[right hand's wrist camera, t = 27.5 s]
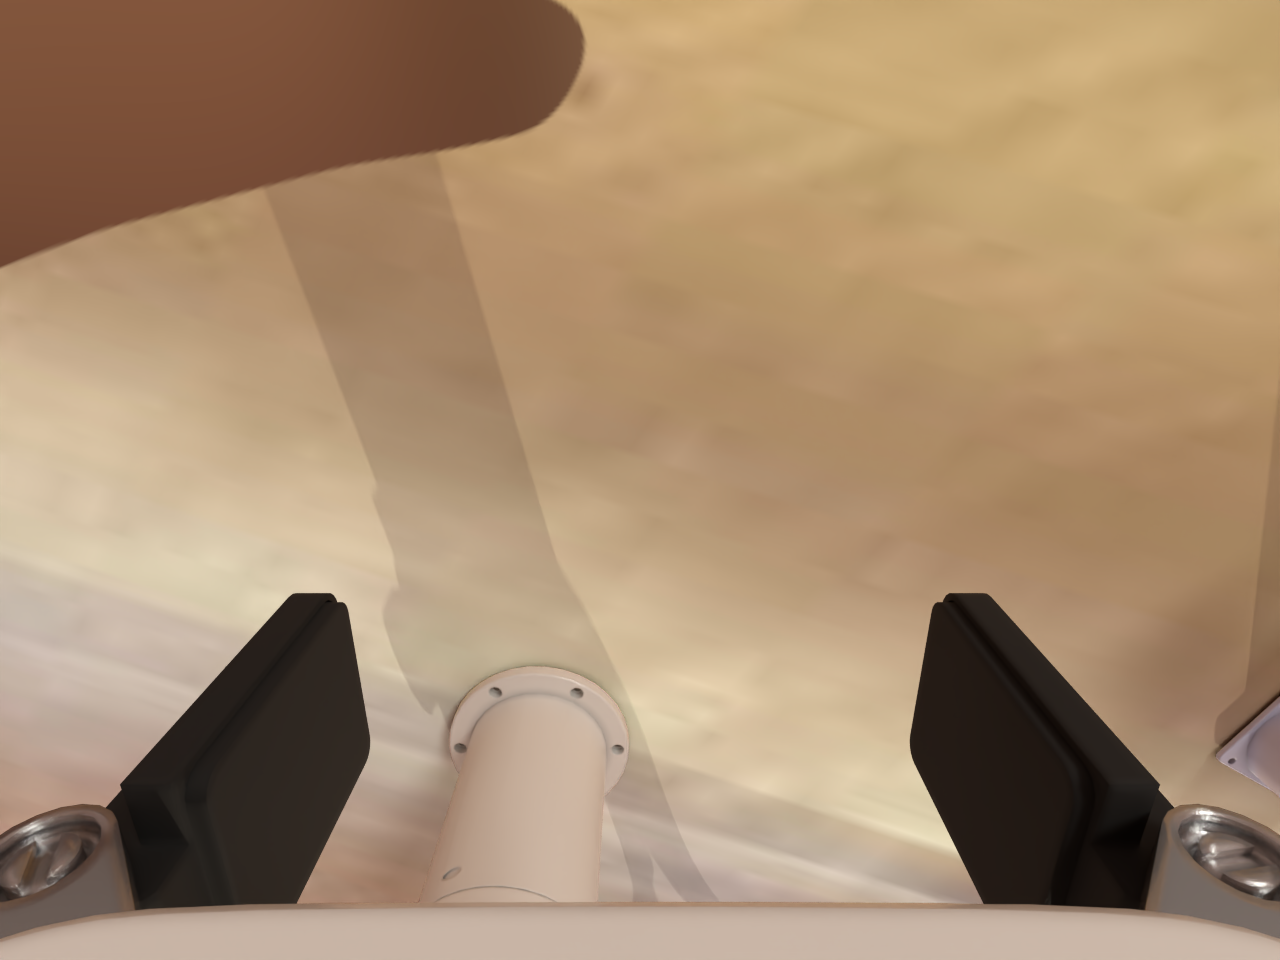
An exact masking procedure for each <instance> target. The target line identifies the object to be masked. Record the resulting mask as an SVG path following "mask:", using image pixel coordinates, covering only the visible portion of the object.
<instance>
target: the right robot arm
mask: <svg viewBox="0 0 1280 960" xmlns="http://www.w3.org/2000/svg"><path fill="white" fill-rule="evenodd" d="M449 747H450V753H451V758H452V760H453V763H454V765H455V768H456V770H457V772H458V773H459V777H458V780H457V783H456V786H455V789H454V792H453V795H452V798H451V802H450V805H449V808H448V811H447V814H446V817H445V820H444V824H443V827H442V830H441V833H440V836H439V839H438V842H437V846H436V849H435V852H434V855H433V858H432V861H431V864H430V868H429V871H428V874H427V877H426V880H425V883H424V886H423V889H422V893H421V896H420V899H419V902H418V903H318V904H296V903H297V901H298V899H299V897H300V895H301V893H302V891H303V889H304V887H305V885H306V883H307V881H308V879H309V877H310V875H311V873H312V871H313V869H314V867H315V865H316V863H317V861H318V859H319V857H320V855H321V853H322V851H323V849H324V847H325V845H326V843H327V841H328V839H329V837H330V835H331V832H332V830H333V828H334V826H335V824H336V822H337V820H338V818H339V816H340V814H341V812H342V810H343V808H344V806H345V804H346V802H347V800H348V798H349V796H350V794H351V792H352V790H353V788H354V786H355V784H356V782H357V780H358V778H359V776H360V774H361V772H362V770H363V768H364V766H365V764H366V761H367V759H368V755H369V749H370V734H369V729H368V723H367V717H366V711H365V705H364V700H363V694H362V688H361V682H360V677H359V671H358V665H357V659H356V653H355V648H354V642H353V636H352V630H351V624H350V619H349V613H348V609H347V606H346V605H345V603H343V602H337V600H336V598H335V597H334V595H332V594H331V593H295V594H292V595H291V596H290V597H288V599H287V600H286V601H285V602H284V603H283V604H282V605H281V606H280V607H279V609H278V610H277V611H276V612H275V613H274V614H273V615H272V616H271V617H270V619H269V620H268V621H267V622H266V623H265V624H264V625H263V626H262V627H261V629H260V630H259V631H258V632H257V633H256V634H255V635H254V636H253V637H252V639H251V640H250V641H249V642H248V643H247V644H246V645H245V646H244V647H243V649H242V650H241V651H240V652H239V653H238V654H237V655H236V656H235V657H234V659H233V660H232V661H231V662H230V663H229V664H228V665H227V666H226V667H225V669H224V670H223V671H222V672H221V673H220V674H219V675H218V676H217V677H216V679H215V680H214V681H213V682H212V683H211V684H210V685H209V686H208V687H207V689H206V690H205V691H204V692H203V693H202V694H201V695H200V696H199V697H198V699H197V700H196V701H195V702H194V703H193V704H192V705H191V706H190V707H189V709H188V710H187V711H186V712H185V713H184V714H183V715H182V716H181V717H180V719H179V720H178V721H177V722H176V723H175V724H174V725H173V726H172V727H171V729H170V730H169V731H168V732H167V733H166V734H165V735H164V736H163V737H162V739H161V740H160V741H159V742H158V743H157V744H156V745H155V746H154V747H153V749H152V750H151V751H150V752H149V753H148V754H147V755H146V756H145V757H144V759H143V760H142V761H141V762H140V763H139V764H138V765H137V766H136V767H135V769H134V770H133V771H132V772H131V773H130V774H129V775H128V776H127V777H126V779H125V780H124V781H123V782H122V783H121V784H120V786H121V789H122V790H121V791H120V792H119V793H118V795H117V796H116V797H115V798H114V799H113V800H112V801H111V802H110V804H109V805H108V806H107V807H106V808H104V807H102V806H100V805H88V804H80V805H73V806H67V807H61V808H58V809H55V810H52V811H49V812H45V813H42V814H39V815H37V816H34V817H32V818H30V819H28V820H26V821H24V822H22V823H20V824H18V825H16V826H14V827H12V828H10V829H9V830H7V831H6V832H4V833H3V834H1V835H0V960H1280V835H1279V834H1277V833H1276V832H1274V831H1273V830H1271V829H1270V828H1268V827H1266V826H1264V825H1262V824H1260V823H1258V822H1256V821H1254V820H1252V819H1250V818H1248V817H1246V816H1243V815H1241V814H1238V813H1235V812H1231V811H1228V810H1225V809H1222V808H1219V807H1213V806H1207V805H1200V804H1192V805H1180V806H1178V807H1176V808H1174V807H1173V806H1172V805H1171V804H1170V802H1169V801H1168V800H1167V799H1166V798H1165V797H1164V796H1163V795H1162V793H1161V792H1160V791H1159V790H1158V789H1159V786H1160V784H1159V783H1158V782H1157V781H1156V780H1155V779H1154V777H1153V776H1152V775H1151V774H1150V773H1149V772H1148V771H1147V770H1146V769H1145V767H1144V766H1143V765H1142V764H1141V763H1140V762H1139V761H1138V760H1137V759H1136V757H1135V756H1134V755H1133V754H1132V753H1131V752H1130V751H1129V750H1128V749H1127V747H1126V746H1125V745H1124V744H1123V743H1122V742H1121V741H1120V740H1119V739H1118V737H1117V736H1116V735H1115V734H1114V733H1113V732H1112V731H1111V730H1110V729H1109V727H1108V726H1107V725H1106V724H1105V723H1104V722H1103V721H1102V720H1101V719H1100V717H1099V716H1098V715H1097V714H1096V713H1095V712H1094V711H1093V710H1092V709H1091V707H1090V706H1089V705H1088V704H1087V703H1086V702H1085V701H1084V700H1083V699H1082V697H1081V696H1080V695H1079V694H1078V693H1077V692H1076V691H1075V690H1074V689H1073V687H1072V686H1071V685H1070V684H1069V683H1068V682H1067V681H1066V680H1065V679H1064V677H1063V676H1062V675H1061V674H1060V673H1059V672H1058V671H1057V670H1056V669H1055V667H1054V666H1053V665H1052V664H1051V663H1050V662H1049V661H1048V660H1047V659H1046V657H1045V656H1044V655H1043V654H1042V653H1041V652H1040V651H1039V650H1038V649H1037V647H1036V646H1035V645H1034V644H1033V643H1032V642H1031V641H1030V640H1029V639H1028V637H1027V636H1026V635H1025V634H1024V633H1023V632H1022V631H1021V630H1020V629H1019V627H1018V626H1017V625H1016V624H1015V623H1014V622H1013V621H1012V620H1011V619H1010V617H1009V616H1008V615H1007V614H1006V613H1005V612H1004V611H1003V610H1002V609H1001V607H1000V606H999V605H998V604H997V603H996V602H995V601H994V600H993V599H992V597H990V596H989V595H988V594H985V593H949V594H948V595H946V597H945V598H944V600H943V602H937V603H935V605H934V606H933V609H932V613H931V619H930V624H929V630H928V636H927V642H926V648H925V653H924V659H923V665H922V671H921V677H920V682H919V688H918V694H917V700H916V705H915V711H914V717H913V723H912V729H911V734H910V749H911V755H912V759H913V761H914V764H915V766H916V768H917V770H918V772H919V774H920V776H921V778H922V780H923V782H924V784H925V786H926V788H927V790H928V792H929V794H930V796H931V798H932V800H933V802H934V804H935V806H936V808H937V810H938V812H939V814H940V816H941V818H942V820H943V822H944V824H945V826H946V828H947V830H948V832H949V835H950V837H951V839H952V841H953V843H954V845H955V847H956V849H957V851H958V853H959V855H960V857H961V859H962V861H963V863H964V865H965V867H966V869H967V871H968V873H969V875H970V877H971V879H972V881H973V883H974V885H975V887H976V889H977V891H978V893H979V895H980V897H981V899H982V901H983V903H984V904H954V903H817V902H598V887H599V870H600V854H601V837H602V821H603V805H604V796H605V795H607V794H608V793H609V792H610V791H611V789H612V788H613V787H614V786H615V785H616V784H617V783H618V781H619V779H620V778H621V776H622V774H623V772H624V770H625V767H626V764H627V760H628V751H629V736H628V728H627V725H626V721H625V718H624V716H623V714H622V712H621V710H620V709H619V707H618V705H617V704H616V703H615V701H614V700H613V699H612V698H611V697H610V696H609V695H608V693H607V692H605V691H604V690H603V689H602V688H600V687H599V686H598V685H596V684H595V683H594V682H592V681H590V680H588V679H586V678H584V677H582V676H581V675H578V674H575V673H572V672H569V671H567V670H564V669H558V668H552V667H546V666H526V667H520V668H513V669H509V670H506V671H503V672H500V673H497V674H494V675H493V676H491V677H489V678H487V679H485V680H484V681H482V682H480V683H479V684H478V685H477V686H475V687H474V688H473V689H472V690H471V691H469V693H468V694H467V695H466V697H465V698H464V699H463V700H462V702H461V703H460V705H459V707H458V709H457V711H456V714H455V716H454V719H453V722H452V725H451V728H450V736H449Z"/></svg>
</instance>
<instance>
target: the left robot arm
mask: <svg viewBox="0 0 1280 960" xmlns="http://www.w3.org/2000/svg"><path fill="white" fill-rule="evenodd" d="M1216 758H1217V759H1218V760H1219V761H1220V762H1221V763H1223V764H1224V765H1226V766H1228V767H1230V768H1232V769H1233V770H1235V771H1237V772H1239V773H1240V774H1242V775H1244V776H1246V777H1248V778H1249V779H1251V780H1253V781H1255V782H1257V783H1258V784H1260V785H1262V786H1264V787H1266V788H1267V789H1269V790H1271V791H1273V792H1274V793H1275V794H1276V795H1277V796H1278V797H1279V798H1280V696H1279V697H1278V698H1277V699H1276V700H1275V701H1274V702H1273V703H1272V704H1271V705H1269V706H1268V707H1267V708H1266V709H1265V710H1264V711H1263V712H1262V713H1261V714H1259V715H1258V716H1257V717H1256V718H1255V719H1254V720H1253V721H1252V722H1251V723H1249V724H1248V725H1247V726H1246V727H1245V728H1244V729H1243V730H1242V731H1241V732H1240V733H1238V734H1237V735H1236V736H1235V737H1234V738H1233V739H1232V740H1231V741H1230V742H1228V743H1227V744H1226V745H1225V746H1224V747H1223V748H1222V749H1221V750H1220V751H1218V753H1217V754H1216Z"/></svg>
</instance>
